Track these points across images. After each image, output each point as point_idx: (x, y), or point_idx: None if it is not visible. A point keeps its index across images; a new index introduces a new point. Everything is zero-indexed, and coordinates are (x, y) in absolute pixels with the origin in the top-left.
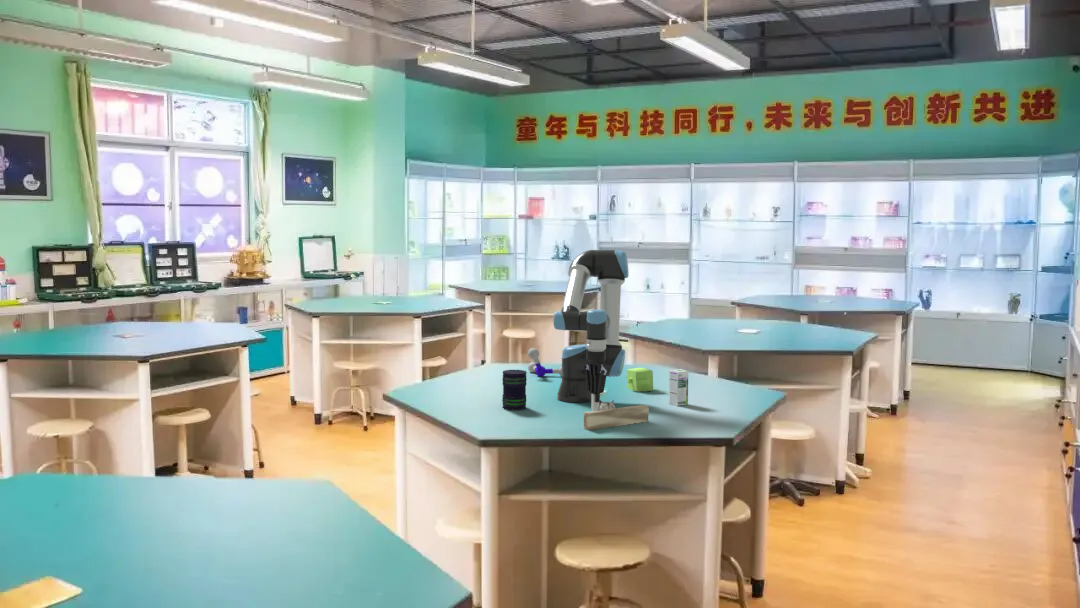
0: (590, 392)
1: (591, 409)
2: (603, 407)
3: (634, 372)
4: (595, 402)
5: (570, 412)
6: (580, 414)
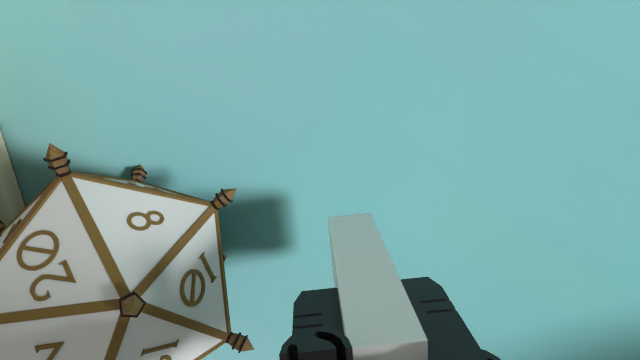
0: (476, 350)
1: (366, 216)
2: (9, 240)
3: None
4: (337, 290)
5: (632, 120)
6: (512, 163)
